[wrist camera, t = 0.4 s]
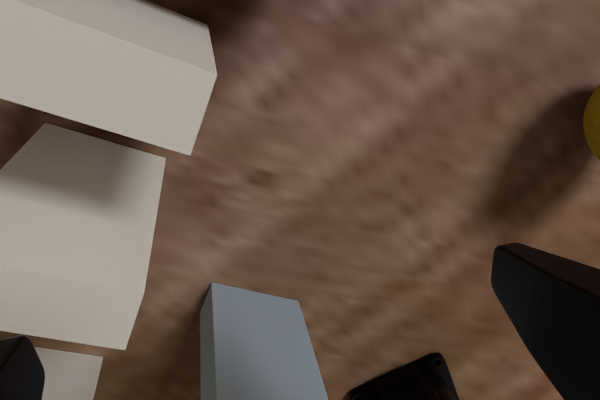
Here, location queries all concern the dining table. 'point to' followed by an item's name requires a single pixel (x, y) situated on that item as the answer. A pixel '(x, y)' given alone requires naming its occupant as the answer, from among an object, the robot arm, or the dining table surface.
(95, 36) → the domino
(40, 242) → the domino
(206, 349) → the blue domino
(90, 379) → the domino
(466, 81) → the dining table surface
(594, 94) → the lemon
